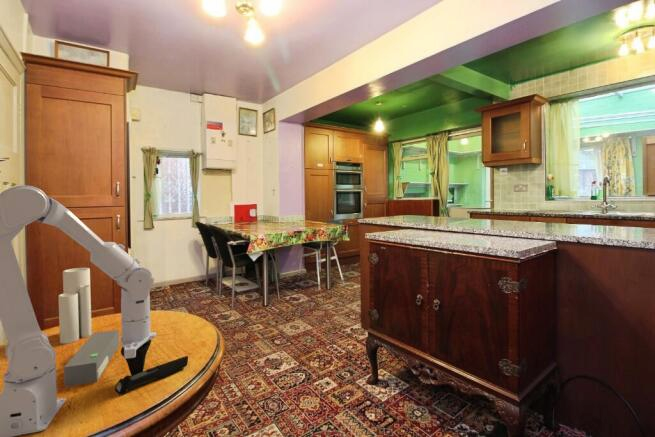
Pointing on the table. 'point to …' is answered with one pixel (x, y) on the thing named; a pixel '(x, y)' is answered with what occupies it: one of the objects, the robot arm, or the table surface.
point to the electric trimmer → (150, 375)
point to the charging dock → (91, 358)
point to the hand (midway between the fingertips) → (137, 374)
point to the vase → (75, 305)
